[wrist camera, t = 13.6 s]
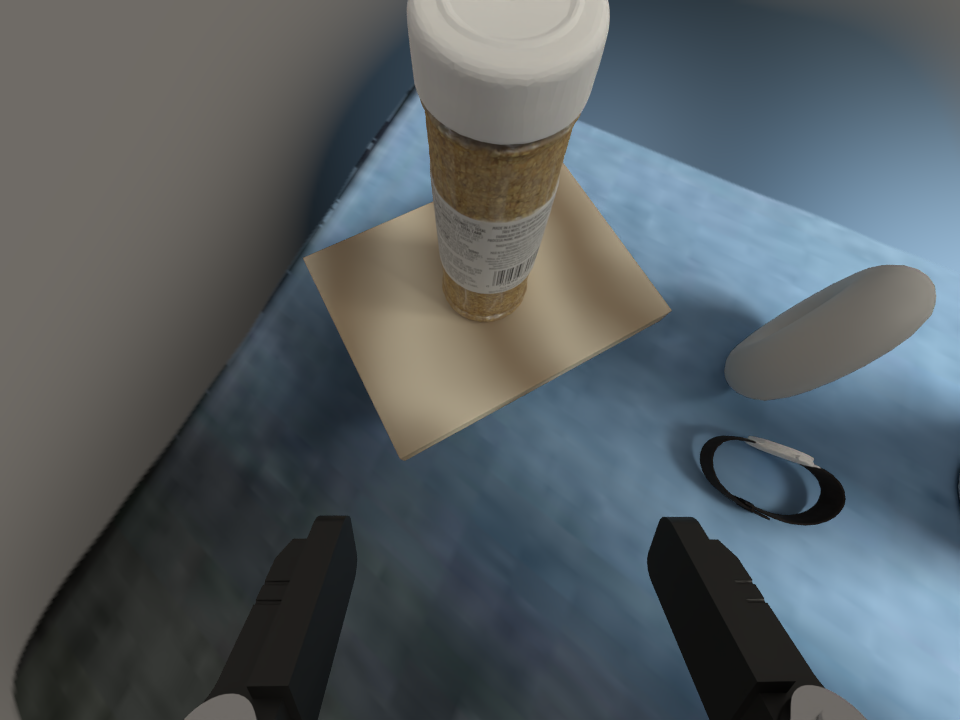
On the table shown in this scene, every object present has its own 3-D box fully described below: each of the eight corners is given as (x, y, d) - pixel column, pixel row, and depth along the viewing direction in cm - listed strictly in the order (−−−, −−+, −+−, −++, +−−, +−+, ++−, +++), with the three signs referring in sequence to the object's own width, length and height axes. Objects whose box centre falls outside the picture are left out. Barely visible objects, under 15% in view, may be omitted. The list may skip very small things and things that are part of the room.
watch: (818, 466, 25) (874, 464, 22) (807, 541, 24) (864, 551, 21) (701, 419, 26) (737, 410, 23) (684, 489, 25) (720, 491, 21)
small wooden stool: (536, 213, 30) (553, 149, 24) (628, 346, 27) (672, 310, 21) (336, 305, 27) (302, 257, 22) (415, 464, 24) (400, 459, 19)
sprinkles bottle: (508, 239, 22) (566, -92, 9) (538, 310, 21) (653, 42, 8) (429, 262, 22) (378, -57, 9) (456, 337, 20) (441, 92, 8)
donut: (718, 424, 26) (867, 390, 16) (682, 381, 27) (804, 324, 17) (821, 343, 28) (1008, 271, 18) (785, 305, 29) (946, 216, 19)
